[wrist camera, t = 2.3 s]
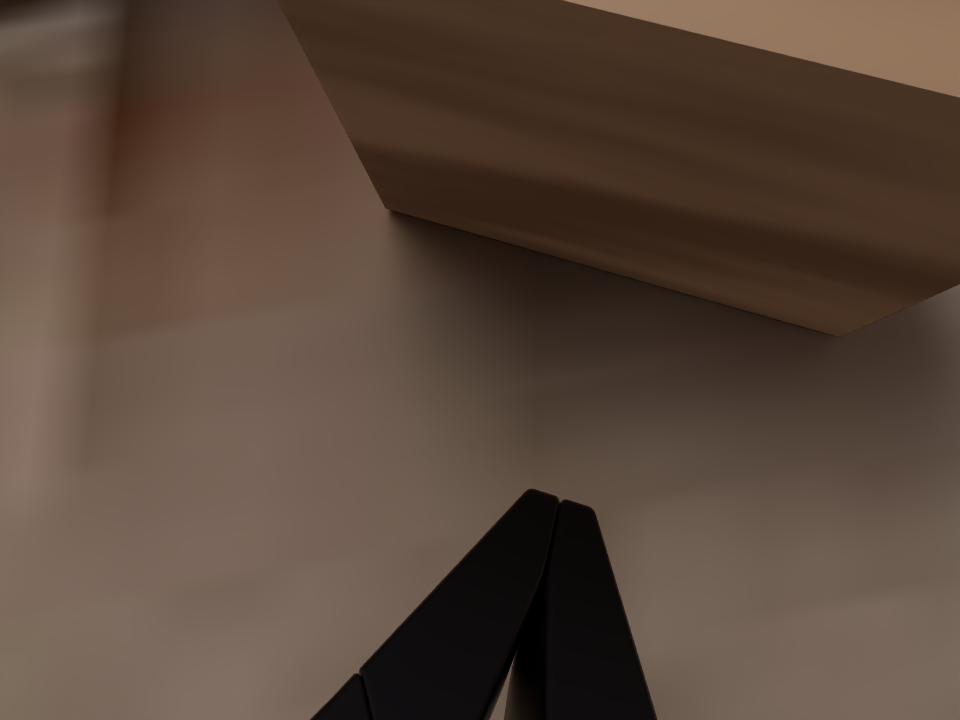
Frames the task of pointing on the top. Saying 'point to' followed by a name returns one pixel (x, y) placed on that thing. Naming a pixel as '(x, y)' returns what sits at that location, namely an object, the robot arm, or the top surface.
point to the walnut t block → (670, 137)
